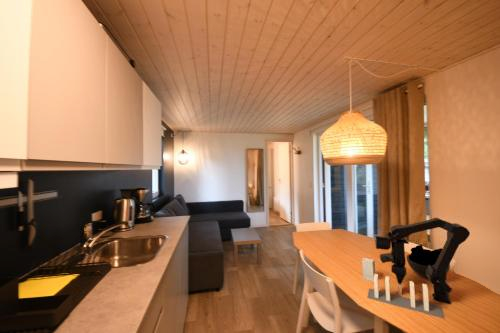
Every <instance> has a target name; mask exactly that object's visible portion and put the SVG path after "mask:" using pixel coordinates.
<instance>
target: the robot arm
mask: <svg viewBox="0 0 500 333" xmlns="http://www.w3.org/2000/svg"><path fill="white" fill-rule="evenodd" d="M436 228H437V229H439V228H441V229H443V230H445V231H447V232H446V241H445V242H444V244H443V247H442V251H441V253H440V255H439V257H438V259H437V261H436V263H435V264H434V265H433V266H431V265H428V268H427V270H426V275H427V277H428V278H427V279H428V281H430V283H431V284H432V285H433V286H432V288H433V293H432V294H431V295H432V298H433V301H435V302H439V303H443V304H447V305H452V301H451V299H450V294H451V292H452V290H453V288H452V287H451V286H450V285H449V284H448V282H447V274H446V271H447V268H448V266H449V264H451V262H452V260H453V258H454V256H455V254H456V252H457V250H458V248H459V246H460V245H462V244H463V243H464V242H465V241H467V239H469V237H470V233H471V232H470V230H469V229H468V228H466V227H464V226H463V225H461V224H460V223H457V222H456V223H451V222H449V221H446V220H443V219H441V218H440V217H433V218H431V219H427V220H422V221H418V222H415V223H411V224H397V225H392V226H391V227H390V229H389V232H388V233H387V234H386V235H385V236H381V235H376V236H375V240H374V244H375V249H377V250H386V251H388V250H390V249H391V251H390V252H386V253H380V254H379V259H380V261H381V263H382V264H385V263H389V262H391V264H392V265H390V266H391V273H393V274H394V275H395V277H396V281H397V285H398V284H401V285H402V283H403V281H404V279H405V278H406V276H407V275H408V274H407V267H406V263H407V260H406V254H405V253H406V252H405V244H406V245H407V244H408V245H409V244H410V242H409V241H408V240H407V239H406V238H408V237H409V236H410V235H412V234H417V233H419V232H421V233H422V232H425V231H429V230H432V229H436Z"/></svg>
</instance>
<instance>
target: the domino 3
mask: <svg viewBox="0 0 500 333" xmlns="http://www.w3.org/2000/svg"><path fill="white" fill-rule="evenodd" d="M402 286H403V285H402V283H401V284H398V283H397V293H398V294H397V295H399V296H403V291H402V290H403V287H402Z"/></svg>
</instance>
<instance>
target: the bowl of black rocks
mask: <svg viewBox="0 0 500 333" xmlns="http://www.w3.org/2000/svg"><path fill="white" fill-rule="evenodd" d="M442 249H443V247H442V248H437V249H436V248H435V249H433V250H431V249H427V248H426V249H425V248H424V247H423V244H418V245H416V246H413V247H411V249H410V252H411V253H410V254H408V255H406V256H405V259H406V263H407V264H408V265H409V267H410V268H411V270H412V271H413V272H414V273H416V274H417V275H419V276H420V277H422V278H425V279H428V277H427V275H426V270H427V268H428V265H431V266H433V265H434V264H435V263H436V261H437V259H438V257H439V255H440V253H441V251H442ZM450 264H451V263H450ZM450 264H449V266H448V268H447V271H446V275H447V274H448V273H449V271H450V268H451V265H450Z"/></svg>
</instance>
